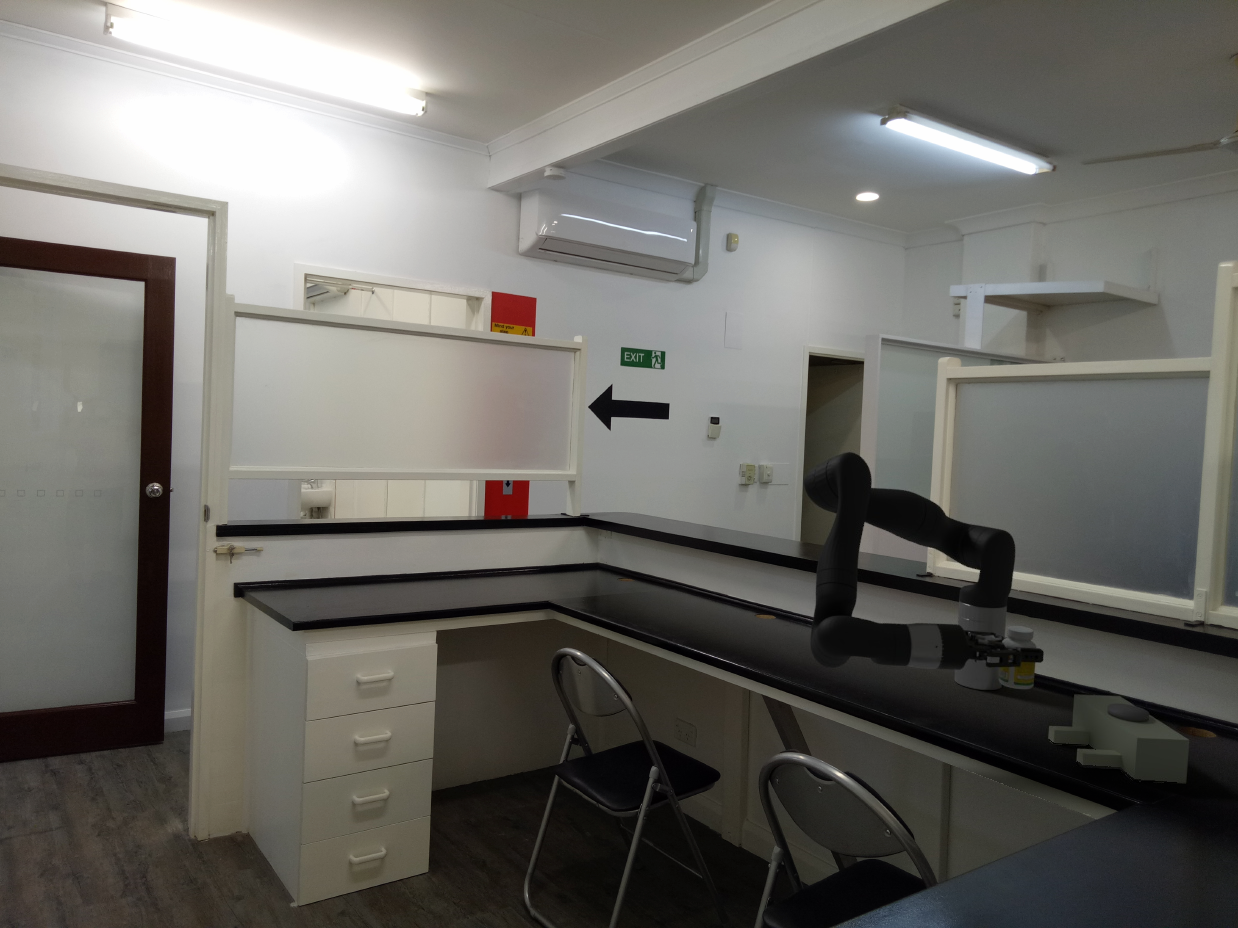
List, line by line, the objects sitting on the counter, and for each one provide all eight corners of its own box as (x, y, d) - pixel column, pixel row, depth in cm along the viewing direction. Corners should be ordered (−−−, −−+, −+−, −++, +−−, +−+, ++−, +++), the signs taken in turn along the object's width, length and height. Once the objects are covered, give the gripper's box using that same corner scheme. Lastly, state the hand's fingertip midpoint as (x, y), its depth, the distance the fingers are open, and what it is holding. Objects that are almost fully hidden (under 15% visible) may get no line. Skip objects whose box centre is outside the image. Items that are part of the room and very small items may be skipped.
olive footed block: (1038, 730, 155) (1040, 687, 155) (1116, 733, 155) (1120, 690, 154) (1095, 779, 135) (1098, 729, 135) (1185, 783, 135) (1189, 733, 134)
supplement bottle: (993, 683, 145) (997, 628, 144) (1005, 677, 149) (1009, 622, 148) (1027, 692, 141) (1031, 635, 140) (1038, 684, 145) (1042, 629, 144)
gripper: (948, 635, 137) (1056, 640, 137) (920, 613, 152) (1017, 617, 151) (945, 681, 138) (1052, 686, 137) (917, 654, 152) (1014, 659, 152)
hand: (1033, 650), depth 144 cm, fingers closed on supplement bottle, 5 cm apart
